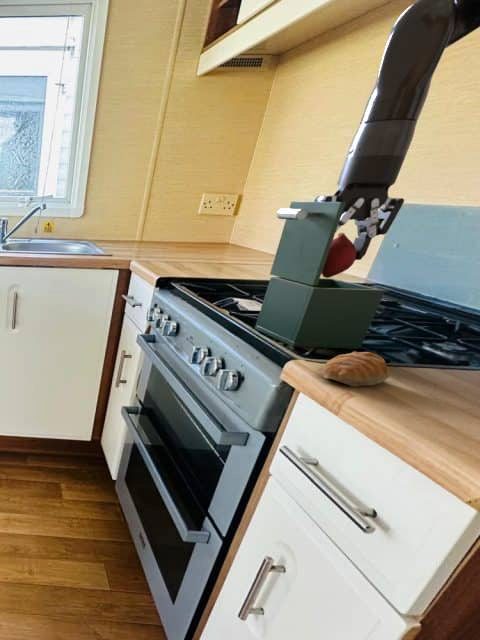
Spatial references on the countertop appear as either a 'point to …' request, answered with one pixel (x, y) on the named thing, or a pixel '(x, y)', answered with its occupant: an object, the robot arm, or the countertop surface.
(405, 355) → the countertop surface
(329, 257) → the onion
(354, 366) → the pastry
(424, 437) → the countertop surface
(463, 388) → the countertop surface
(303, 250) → the lid
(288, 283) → the box
